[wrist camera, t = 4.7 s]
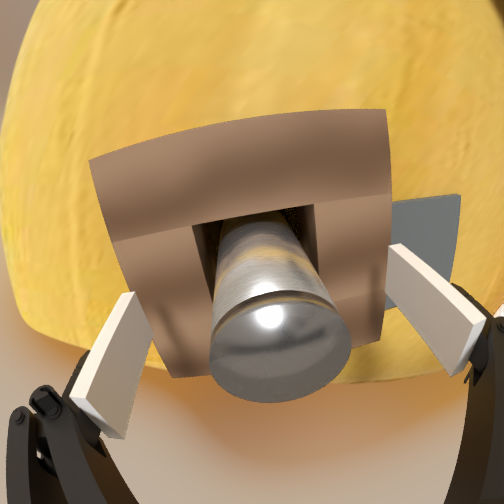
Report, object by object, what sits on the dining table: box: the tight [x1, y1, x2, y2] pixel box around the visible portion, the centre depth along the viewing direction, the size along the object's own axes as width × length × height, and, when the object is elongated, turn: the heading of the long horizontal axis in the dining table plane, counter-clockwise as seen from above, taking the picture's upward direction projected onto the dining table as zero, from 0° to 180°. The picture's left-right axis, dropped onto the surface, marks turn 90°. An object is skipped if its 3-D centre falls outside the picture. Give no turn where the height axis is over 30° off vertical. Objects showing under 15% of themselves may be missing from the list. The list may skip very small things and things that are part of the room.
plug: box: [209, 210, 351, 403], centre depth 14 cm, size 5×5×12 cm
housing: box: [89, 109, 392, 378], centre depth 17 cm, size 16×16×5 cm
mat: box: [385, 194, 461, 309], centre depth 21 cm, size 10×10×1 cm
